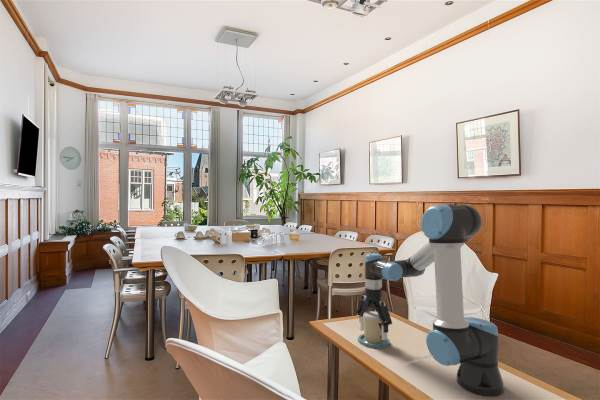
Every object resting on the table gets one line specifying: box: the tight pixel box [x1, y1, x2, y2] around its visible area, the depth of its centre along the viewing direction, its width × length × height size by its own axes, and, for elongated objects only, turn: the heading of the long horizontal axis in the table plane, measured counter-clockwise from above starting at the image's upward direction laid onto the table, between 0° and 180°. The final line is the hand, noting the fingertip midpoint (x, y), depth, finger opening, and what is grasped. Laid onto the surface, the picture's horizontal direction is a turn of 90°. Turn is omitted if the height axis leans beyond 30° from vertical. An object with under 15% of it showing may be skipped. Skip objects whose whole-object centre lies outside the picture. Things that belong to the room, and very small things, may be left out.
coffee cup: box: [363, 310, 383, 344], centre depth 165 cm, size 9×9×12 cm
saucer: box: [357, 333, 390, 349], centre depth 165 cm, size 14×14×2 cm
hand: (373, 334), depth 165 cm, fingers open, 13 cm apart
